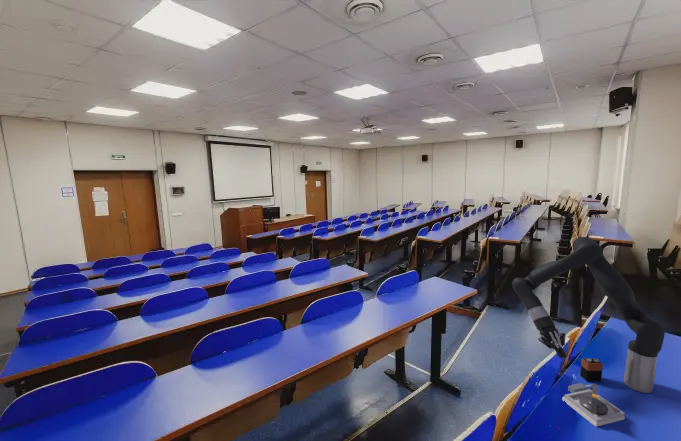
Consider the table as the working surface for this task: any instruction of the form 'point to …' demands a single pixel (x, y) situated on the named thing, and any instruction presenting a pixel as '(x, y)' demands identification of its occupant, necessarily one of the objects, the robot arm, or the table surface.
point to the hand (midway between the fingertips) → (563, 357)
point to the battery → (591, 369)
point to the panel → (596, 420)
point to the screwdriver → (578, 387)
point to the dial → (593, 402)
